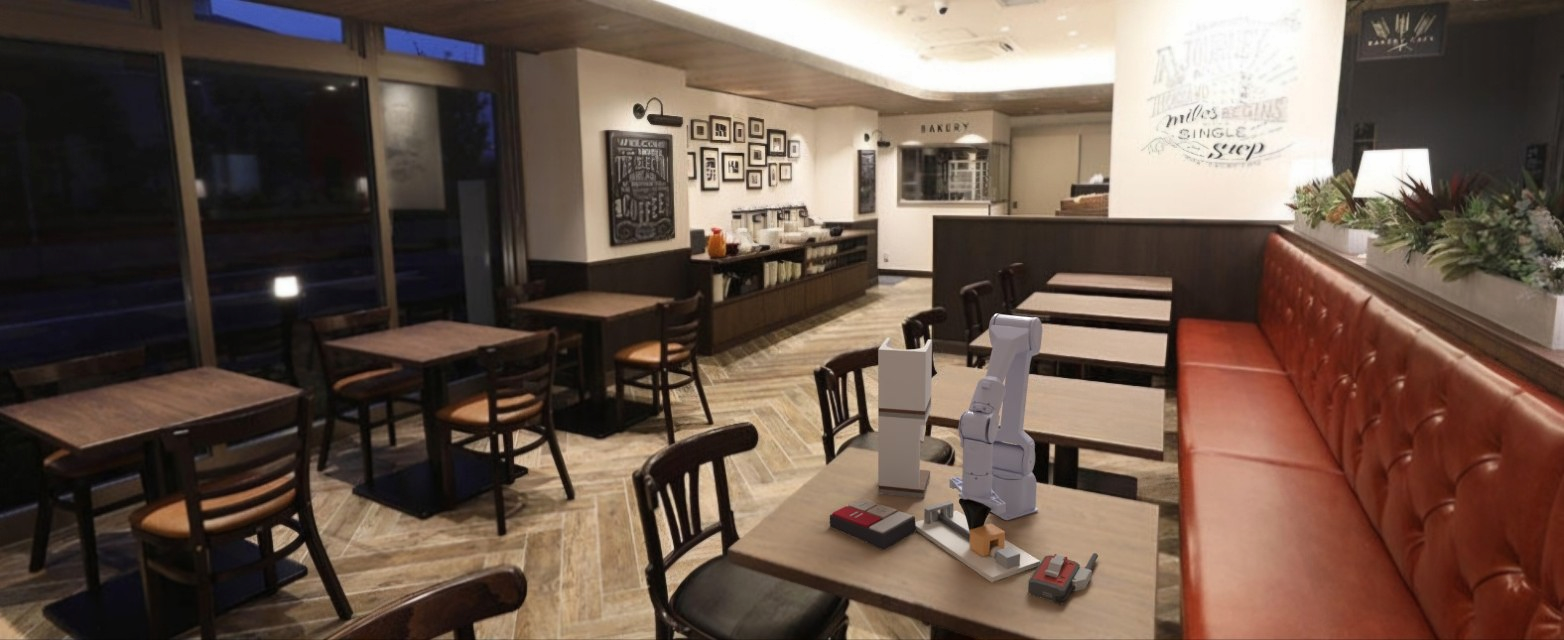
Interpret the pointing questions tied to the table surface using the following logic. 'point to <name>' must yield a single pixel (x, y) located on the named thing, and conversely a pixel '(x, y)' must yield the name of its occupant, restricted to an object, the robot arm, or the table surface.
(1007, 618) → the table surface
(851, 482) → the table surface
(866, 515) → the calculator
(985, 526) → the orange block
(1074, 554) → the table surface
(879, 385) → the white box tower
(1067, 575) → the walkie-talkie
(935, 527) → the board
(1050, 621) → the table surface
